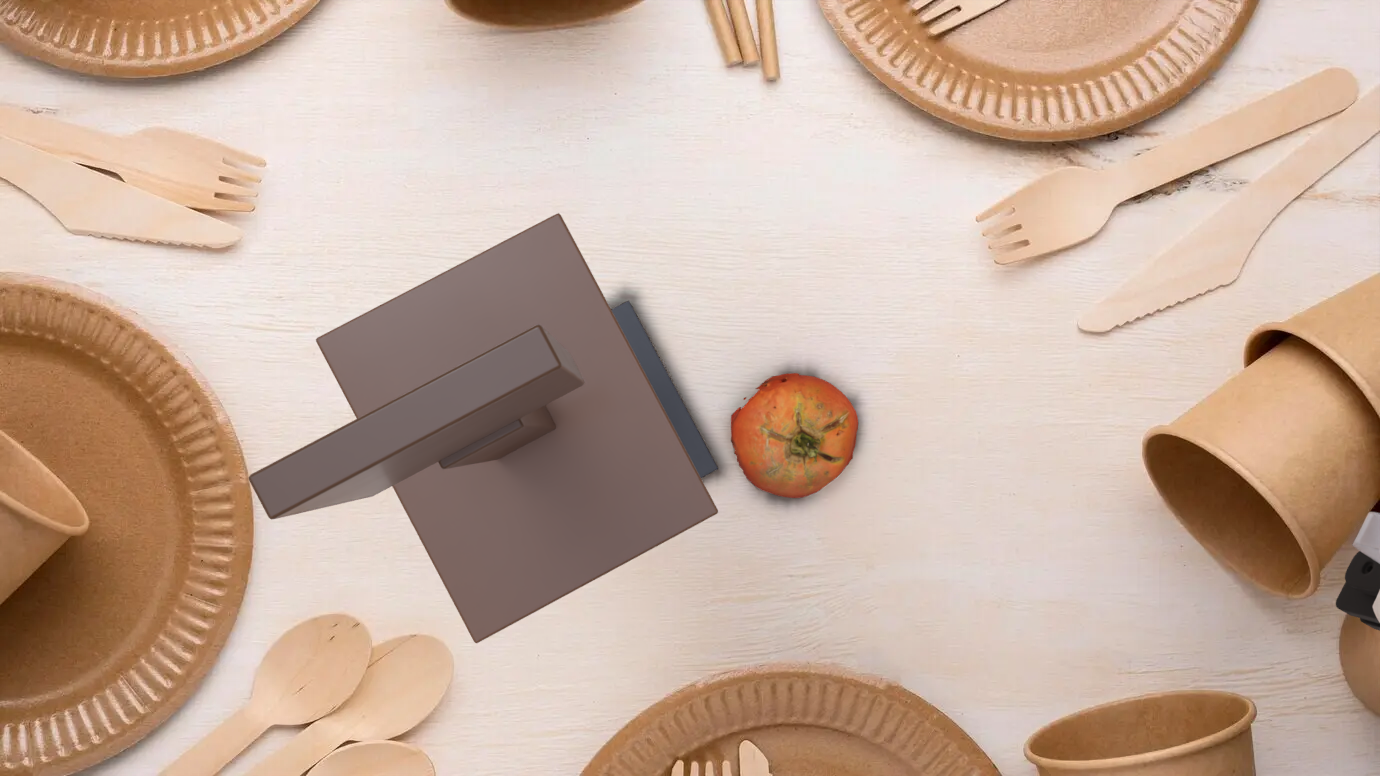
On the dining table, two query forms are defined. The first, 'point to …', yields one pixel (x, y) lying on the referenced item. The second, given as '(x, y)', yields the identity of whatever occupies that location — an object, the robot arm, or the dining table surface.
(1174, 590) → the dining table surface
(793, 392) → the tomato
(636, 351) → the stand
